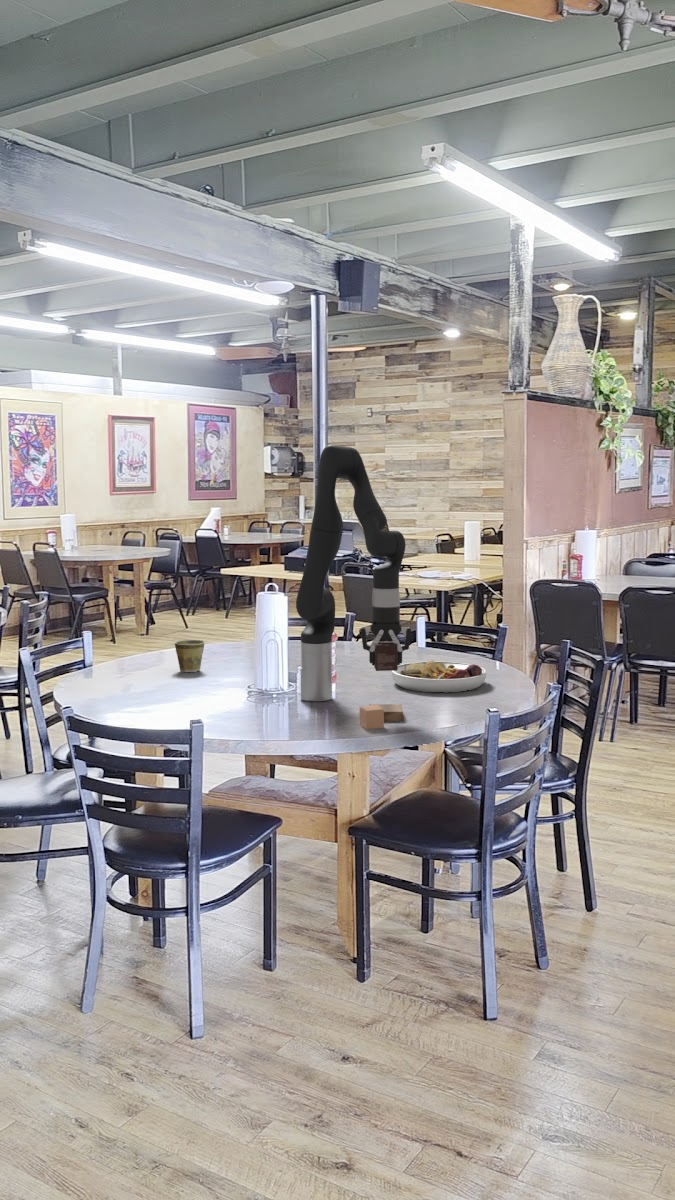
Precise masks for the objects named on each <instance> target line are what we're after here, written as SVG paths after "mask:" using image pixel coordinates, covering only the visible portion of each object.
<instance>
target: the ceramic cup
mask: <svg viewBox="0 0 675 1200" xmlns="http://www.w3.org/2000/svg"><path fill="white" fill-rule="evenodd" d="M174 648H175V653H176V656H177V660H178V661H177V662H178V666H179V670H180V672H181V671H182V672H181V673H183V672H195V673H198V672H197V671H199V670H201V668H202V660H203V653H204V649H205V641H203V640H197V639H184V640H183V639H182V640H178V641H175V642H174ZM199 672H200V671H199Z"/></svg>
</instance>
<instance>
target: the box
mask: <svg viewBox="0 0 675 1200" xmlns="http://www.w3.org/2000/svg"><path fill="white" fill-rule="evenodd" d="M374 651H375V665H373V666H374V669H375V671H376V672H379V671H380V672H388V671H397V670H398V658H397V656H398V655H397V653H398V645H397V644H394V642H393V641H392V642H388V641H384V642H380V641H379V642H378V644H375V649H374Z"/></svg>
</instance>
